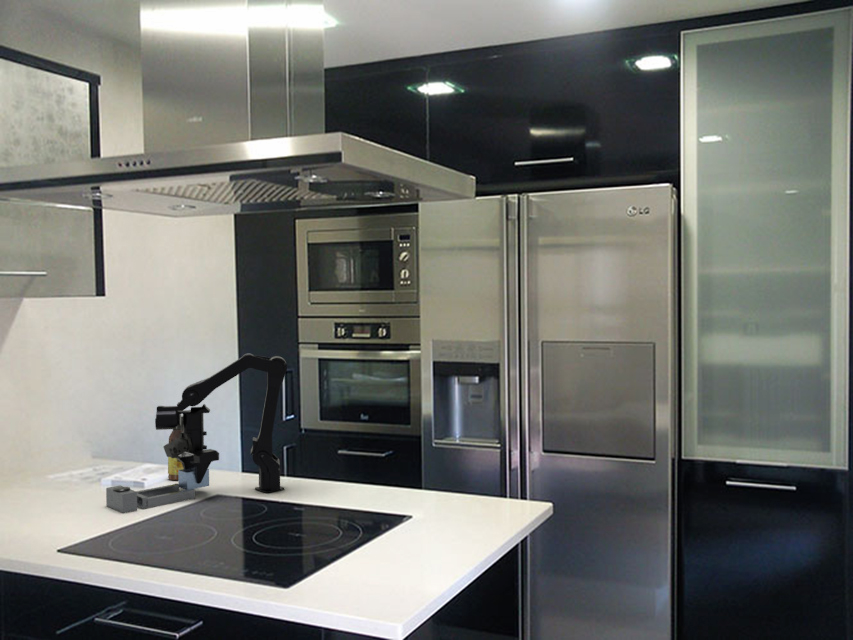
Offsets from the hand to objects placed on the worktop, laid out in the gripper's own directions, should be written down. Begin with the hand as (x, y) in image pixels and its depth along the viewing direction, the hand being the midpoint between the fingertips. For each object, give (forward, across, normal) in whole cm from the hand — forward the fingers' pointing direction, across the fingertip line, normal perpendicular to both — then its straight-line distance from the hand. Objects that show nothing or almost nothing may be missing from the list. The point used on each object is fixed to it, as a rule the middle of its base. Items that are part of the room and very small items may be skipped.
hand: (194, 481), depth 230 cm
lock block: (+1, 0, 0) cm, 1 cm away
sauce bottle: (+4, -20, +6) cm, 21 cm away
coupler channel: (+3, 0, -13) cm, 14 cm away
